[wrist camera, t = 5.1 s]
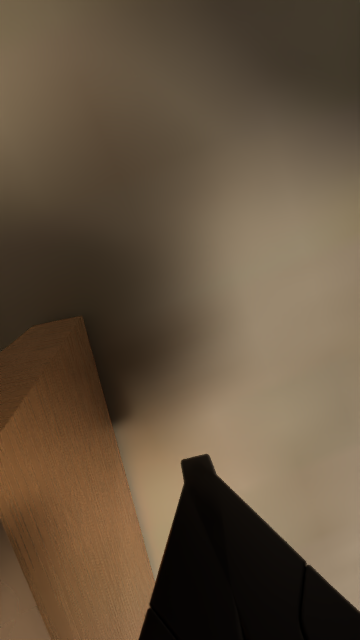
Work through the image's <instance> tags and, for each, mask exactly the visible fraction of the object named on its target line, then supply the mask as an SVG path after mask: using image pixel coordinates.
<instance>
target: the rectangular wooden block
mask: <svg viewBox="0 0 360 640" xmlns="http://www.w3.org/2000/svg"><path fill="white" fill-rule="evenodd" d="M154 585H155V581H154V577H153V573H152V570H151V566H150V562H149V559H148V555H147V551H146V548H145V544H144V540H143V537H142V533H141V529H140V526H139V522H138V518H137V515H136V511H135V507H134V504H133V500H132V496H131V493H130V489H129V485H128V482H127V478H126V474H125V471H124V467H123V463H122V460H121V456H120V452H119V449H118V445H117V441H116V438H115V434H114V430H113V427H112V423H111V419H110V416H109V412H108V408H107V405H106V401H105V397H104V394H103V390H102V386H101V383H100V379H99V375H98V372H97V368H96V364H95V361H94V357H93V353H92V350H91V346H90V342H89V339H88V335H87V331H86V328H85V324H84V320H83V317H82V316H77V317H72V318H67V319H63V320H58V321H53V322H48V323H43V324H39V325H34V326H32V327H31V328H30V329H29V330H27V331H26V332H25V333H24V334H22V335H21V336H20V337H19V338H18V339H16V340H15V341H14V342H13V343H11V344H10V345H9V346H8V347H7V348H5V349H4V350H3V351H2V352H0V640H138V639H139V636H140V633H141V629H142V626H143V622H144V619H145V615H146V612H147V609H148V608H150V607H149V602H150V599H151V595H152V592H153V589H154Z"/></svg>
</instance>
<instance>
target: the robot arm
mask: <svg viewBox="0 0 360 640" xmlns="http://www.w3.org/2000/svg"><path fill="white" fill-rule="evenodd" d="M181 468H182V473H183V479H184V485H183V489H182V492H181V496H180V499H179V503H178V506H177V509H176V513H175V516H174V520H173V523H172V527H171V530H170V534H169V537H168V540H167V544H166V547H165V551H164V554H163V558H162V561H161V564H160V568H159V571H158V575H157V578H156V582H155V585H154V589H153V592H152V595H151V599H150V602H149V607H150V608H148V609H147V612H146V615H145V619H144V622H143V626H142V629H141V633H140V636H139V639H138V640H360V611H358V610H357V609H356V608H355V607H354V606H353V605H352V604H351V603H350V602H349V601H348V600H346V599H345V598H344V597H343V596H342V595H341V594H340V593H339V592H338V591H337V590H336V589H335V588H333V587H332V586H331V585H330V584H329V583H328V582H327V581H326V580H325V579H324V578H323V577H322V576H321V575H320V574H319V573H318V572H317V571H316V570H315V569H314V568H313V567H312V566H311V565H307V563H306V561H305V560H304V559H303V558H302V557H301V556H300V555H299V554H298V553H297V552H296V551H295V550H294V549H293V548H292V547H291V546H290V545H289V544H288V543H287V542H286V541H285V540H284V539H283V538H282V537H280V536H279V535H278V534H277V533H276V532H275V531H274V530H273V529H272V528H271V527H270V526H269V525H268V524H267V523H266V522H265V521H264V520H263V519H262V518H261V517H260V516H259V515H258V514H257V513H256V512H255V511H254V510H253V509H252V508H251V507H250V506H249V505H247V504H246V503H245V502H244V501H243V500H242V499H241V498H240V497H239V496H238V495H237V494H236V493H235V492H234V491H233V490H232V489H231V488H230V487H229V486H228V485H227V484H226V483H225V482H224V481H223V480H222V479H221V478H220V477H219V476H218V475H217V474H216V471H215V469H214V466H213V464H212V461H211V458H210V456H209V455H208V454H204V455H199V456H195V457H191V458H187V459H183V460H182V461H181Z"/></svg>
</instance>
